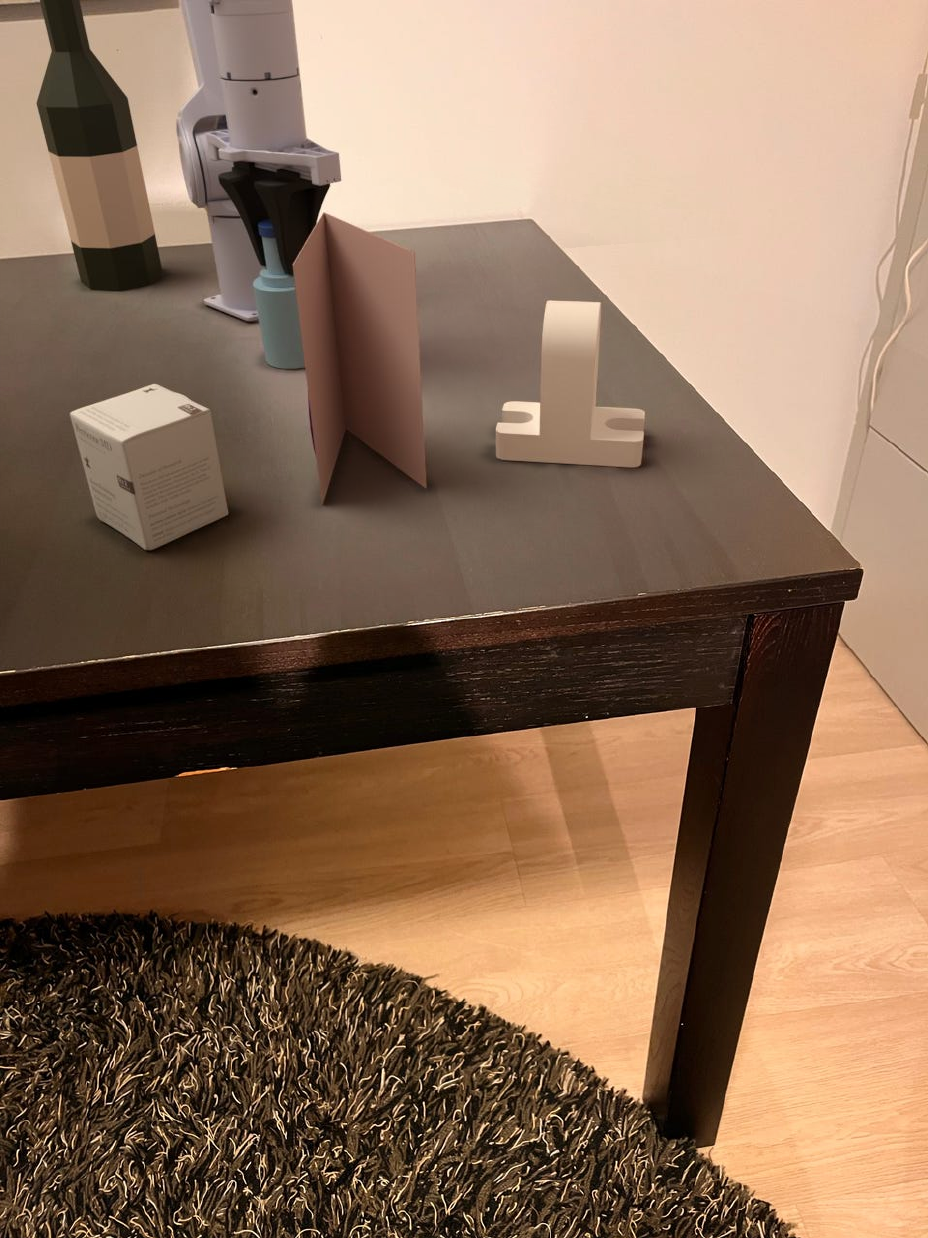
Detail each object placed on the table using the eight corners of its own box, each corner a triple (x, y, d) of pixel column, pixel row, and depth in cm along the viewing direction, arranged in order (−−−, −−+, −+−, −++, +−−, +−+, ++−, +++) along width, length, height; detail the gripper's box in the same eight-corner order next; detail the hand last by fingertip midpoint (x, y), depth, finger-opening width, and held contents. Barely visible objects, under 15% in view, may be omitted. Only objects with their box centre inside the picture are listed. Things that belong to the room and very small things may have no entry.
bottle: (302, 340, 86) (283, 209, 79) (339, 355, 83) (323, 220, 76) (253, 358, 83) (229, 223, 77) (289, 374, 80) (268, 235, 73)
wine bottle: (180, 273, 103) (113, -74, 86) (118, 295, 98) (34, -71, 80) (125, 262, 107) (51, -73, 89) (64, 283, 101) (-29, -70, 84)
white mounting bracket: (505, 426, 71) (505, 287, 65) (642, 433, 70) (655, 292, 64) (494, 459, 67) (493, 314, 61) (640, 467, 65) (654, 320, 59)
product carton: (95, 520, 61) (64, 411, 57) (178, 485, 65) (154, 379, 61) (149, 554, 58) (120, 440, 54) (232, 515, 61) (212, 405, 57)
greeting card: (333, 427, 72) (310, 212, 63) (434, 426, 71) (425, 210, 62) (308, 504, 62) (277, 264, 54) (424, 504, 62) (411, 263, 53)
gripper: (159, 73, 73) (193, 260, 81) (272, 91, 64) (298, 298, 72) (239, 63, 77) (264, 242, 85) (356, 78, 68) (371, 276, 76)
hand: (284, 267), depth 79 cm, fingers closed on bottle, 3 cm apart
